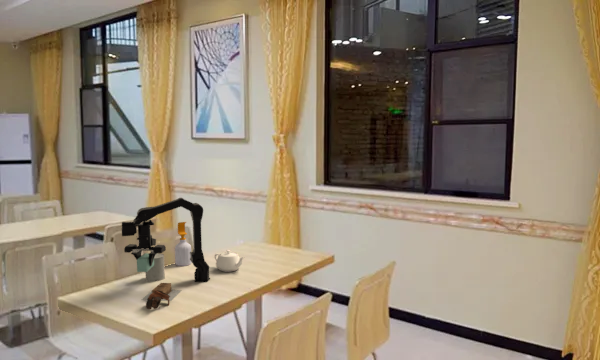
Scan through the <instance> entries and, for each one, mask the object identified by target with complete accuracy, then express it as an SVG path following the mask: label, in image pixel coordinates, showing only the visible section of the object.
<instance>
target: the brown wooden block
mask: <svg viewBox="0 0 600 360" xmlns="http://www.w3.org/2000/svg"><path fill="white" fill-rule="evenodd" d="M155 290H158V291H161V292H163V293H166V294H167V287H157V286H155V287H154V288H153V289H152V290H151V291H152V293H154V291H155ZM160 298H161V299H162V297H160ZM153 299H154V298H153Z"/></svg>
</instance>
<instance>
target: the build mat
mask: <svg viewBox="0 0 600 360" xmlns="http://www.w3.org/2000/svg"><path fill="white" fill-rule="evenodd" d="M171 290H172V291H171V292H170V293H169V294H168V295H169V296H170V297H169V302H172V301H173V300H174V299H175V298H176V297H177V296H178V295H179V294H180V293H181V292H182V290H179V289H171ZM150 294H152V290H151V291H150V292H148V294H146V295H145V296H144V297H142V299H141V301H147V300H148V297H149V296H150ZM153 300H154V299H153ZM161 301H162V302H168V301H167V300H165V299H161Z"/></svg>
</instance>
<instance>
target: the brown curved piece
mask: <svg viewBox="0 0 600 360" xmlns="http://www.w3.org/2000/svg"><path fill="white" fill-rule="evenodd" d="M160 297H162V299H165V300H167V301H166V302H167V306H170V302H171V301H169V297H170V296H169V295H168V294H166V293H163V292H161V291H158V290H155V291H154V293H152V294H150V296H149V297H148V300H146V303H145V304H146V305H145V309H147V310H152V309H153V310H157V309H159V306H160V303H161V298H160ZM153 298H154V300H153Z"/></svg>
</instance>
